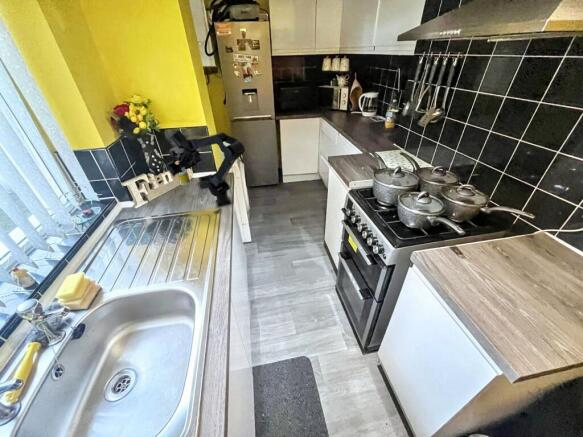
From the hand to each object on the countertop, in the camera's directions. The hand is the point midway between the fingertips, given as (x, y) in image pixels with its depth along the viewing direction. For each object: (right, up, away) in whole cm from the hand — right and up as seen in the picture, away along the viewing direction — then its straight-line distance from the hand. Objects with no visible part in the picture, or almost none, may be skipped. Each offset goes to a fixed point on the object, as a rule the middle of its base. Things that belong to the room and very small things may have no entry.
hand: (180, 171), depth 135 cm
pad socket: (+11, -5, +14) cm, 18 cm away
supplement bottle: (+1, -6, +3) cm, 7 cm away
